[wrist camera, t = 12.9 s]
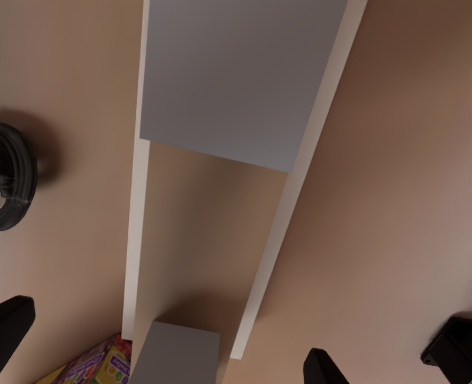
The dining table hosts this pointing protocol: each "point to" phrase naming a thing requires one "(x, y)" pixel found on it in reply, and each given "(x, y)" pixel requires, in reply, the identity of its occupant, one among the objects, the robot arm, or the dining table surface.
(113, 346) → the snack box
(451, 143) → the dining table surface
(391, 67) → the dining table surface
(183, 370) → the crate
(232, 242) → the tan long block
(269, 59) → the crate
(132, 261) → the panel
